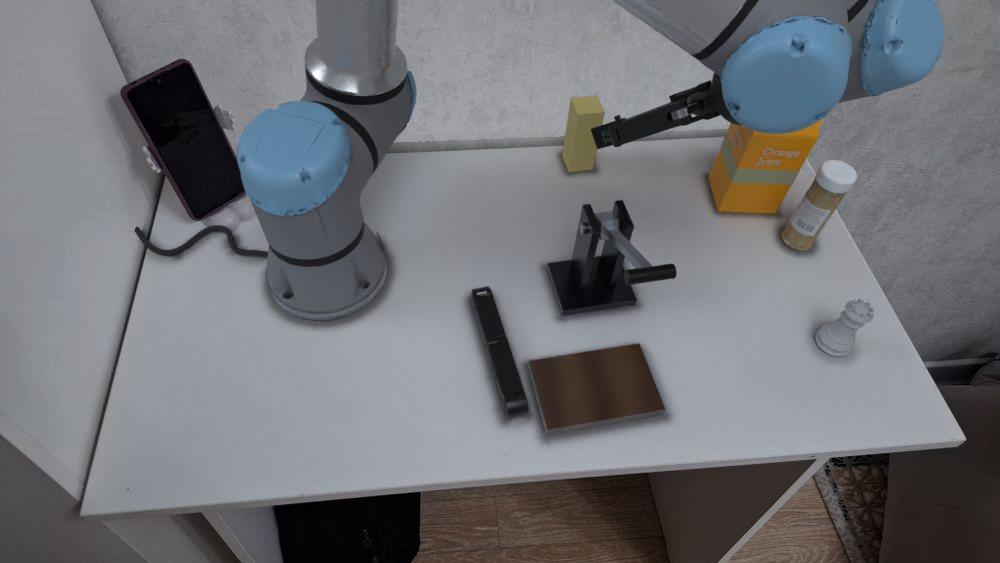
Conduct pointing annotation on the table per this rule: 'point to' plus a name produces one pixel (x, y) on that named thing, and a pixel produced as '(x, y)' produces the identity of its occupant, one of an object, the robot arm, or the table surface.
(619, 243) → the arm
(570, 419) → the board
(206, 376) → the table surface
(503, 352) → the black long bar
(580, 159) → the butter
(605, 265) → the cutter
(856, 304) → the rook chess piece
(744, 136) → the orange juice
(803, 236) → the sprinkles bottle
